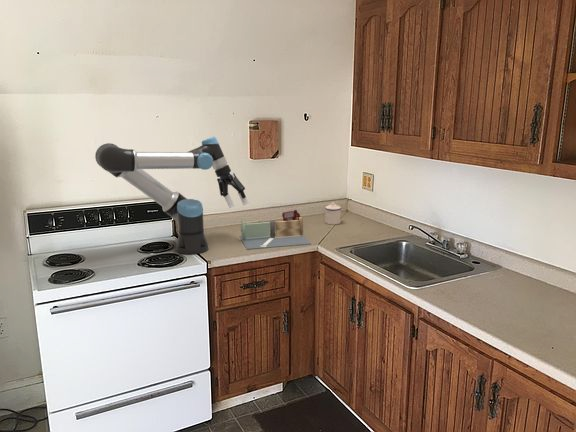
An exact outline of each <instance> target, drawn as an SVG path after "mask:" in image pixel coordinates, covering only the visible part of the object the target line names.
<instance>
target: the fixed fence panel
mask: <svg viewBox="0 0 576 432" xmlns="http://www.w3.org/2000/svg"><path fill="white" fill-rule="evenodd" d="M269 222H270V238H275V233H276V237H288V236H302V235H304V217H303V216H301V217H299V220H292V221H283V220H282V221H276V220H270V221H269Z"/></svg>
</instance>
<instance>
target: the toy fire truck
mask: <svg viewBox="0 0 576 432" xmlns="http://www.w3.org/2000/svg"><path fill="white" fill-rule="evenodd" d="M281 214H282V215H281V216H282V221H292V220H299V217H302V216H301V214H300V213H299V212H298V210H297V209H294V210H289V211H283V212H282V213H281Z"/></svg>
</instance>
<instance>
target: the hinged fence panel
mask: <svg viewBox="0 0 576 432" xmlns="http://www.w3.org/2000/svg"><path fill="white" fill-rule="evenodd" d="M240 227H241V228H240V229H241V231H240V232H241V236H242V239H246V238H251V237H264V236H270V221H267V222H265V221H264V222H254V223H253V222H252V223H246V220H241V221H240Z"/></svg>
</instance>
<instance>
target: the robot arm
mask: <svg viewBox="0 0 576 432" xmlns="http://www.w3.org/2000/svg"><path fill="white" fill-rule="evenodd" d="M94 157H95V158H94V159H95V162H96V163H97V164H98V166H100V168H102V169H103V171H106V172H107V173H109V174H111V175H112V176H113V177H115V178H122V179H123V180H125V181H126V182H127V183H129V184H130V185H131V186H134V187H135V188H136V189H137V190H139V191H140V192H142V194H144V195H146V196H147V197H148V198H150V199H151V200H153V201H154V202H155V203H157V204H158V205H160V206H161V207H162V211H163V212H164V213H165V214H167V215H168V216H170V217H171V218H172V219H174V220H175V222H177V224H178V225H177V226H178V238H177V241H176V244H175V250H176V253H178V254H181V255H196V254H197V255H198V254H202V253H205V252H207V251H209V242H208V240H207V238H206V235H205V230H204V229H205V226H204V208H203V203H202V201H200V200H198V199H194V198H187V197H185V196H184V195H182V193H180V192H178V191H172V190H171V189H170V188H168V187H167V186H166V185H164V184H162V183H161V182H160V181H158V180H157V179H156V178H154V177H153V176H152V175H151V174H149V173H148V172H146V171H145V170H168V169H169V170H174V169H179V170H180V169H182V170H184V169H188V170H191V169H200V170H205V171H206V170H209V169H211V168H213V170H214V173H215V176H216V177H217V179H216V180H217V184H218V189H219V194H220V196H221V197H223V198H224V200H225V202H226V203H227V206H228V207H229V209H232V208H233V207H235V204H234V202H233V199H232V198H231V196H230V194H229V186H231V187H232V188H234V189H235V191H237V194H238V196H239V198H240V201H241V202H242V205H243V206H246V205H248V204H249V201H248V199H247V197H246V194H245V191H244V190H246V188H245V186H244V185H243V184H242V182H241V181H240V180H239V178H238V177H237V176H236V174H235V173H234V172H233V173H230V172H232V170H231V167H230V166H229V164H228V161H227V159H226V157H225V155H224V153H223V150H222V147H221V146H220V143H219V141H218V139H217V138H216V136H214V135H213V136H210V137H209V138H206V139H203V140H202V141H201V146H198V147H196V148H193V149H191V150H189V151H176V152H174V151H135V149H128V148H121V147H119V146H118V145H116V144H114V143H111V142H110V143H109V142H108V143H107V142H106V143H103V144H101V145H100V146H98V148H97V149H96V151H95V156H94Z"/></svg>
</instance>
